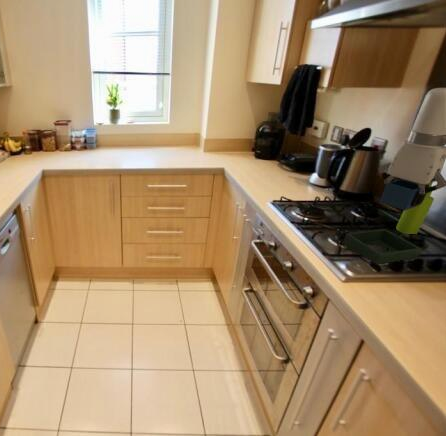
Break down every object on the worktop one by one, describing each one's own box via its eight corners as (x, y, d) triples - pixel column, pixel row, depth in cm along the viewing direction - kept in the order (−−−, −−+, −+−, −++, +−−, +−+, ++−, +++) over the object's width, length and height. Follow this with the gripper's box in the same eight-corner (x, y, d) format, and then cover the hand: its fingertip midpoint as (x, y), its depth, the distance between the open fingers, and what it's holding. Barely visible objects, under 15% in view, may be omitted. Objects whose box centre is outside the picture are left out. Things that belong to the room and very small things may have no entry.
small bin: (392, 197, 95) (400, 178, 93) (418, 205, 90) (427, 186, 87) (379, 201, 93) (386, 182, 90) (404, 210, 88) (414, 190, 85)
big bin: (379, 240, 106) (384, 228, 104) (416, 261, 95) (422, 249, 93) (341, 245, 104) (346, 233, 102) (375, 267, 93) (380, 255, 91)
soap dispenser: (399, 223, 115) (422, 172, 106) (421, 232, 110) (448, 178, 100) (388, 227, 113) (411, 174, 104) (410, 236, 108) (437, 181, 98)
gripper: (478, 144, 77) (443, 210, 86) (397, 130, 91) (375, 188, 99) (462, 149, 74) (428, 216, 83) (382, 133, 88) (360, 192, 97)
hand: (399, 200), depth 91 cm, fingers closed on small bin, 6 cm apart
